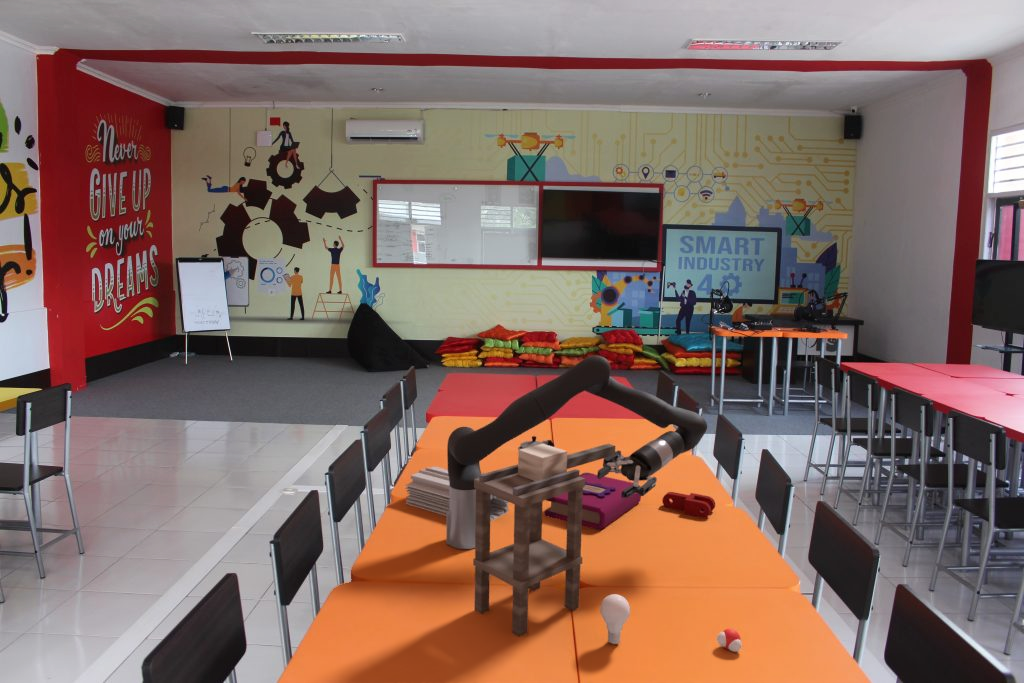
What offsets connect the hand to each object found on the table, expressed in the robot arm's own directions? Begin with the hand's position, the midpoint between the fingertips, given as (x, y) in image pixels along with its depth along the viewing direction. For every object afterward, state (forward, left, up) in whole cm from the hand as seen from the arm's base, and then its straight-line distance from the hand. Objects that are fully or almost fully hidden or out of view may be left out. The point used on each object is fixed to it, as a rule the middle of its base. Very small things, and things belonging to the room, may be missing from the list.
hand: (610, 485), depth 193 cm
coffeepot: (-36, +58, -24) cm, 72 cm away
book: (-12, +43, -25) cm, 51 cm away
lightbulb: (+7, -33, -24) cm, 41 cm away
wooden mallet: (-7, -12, +8) cm, 16 cm away
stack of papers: (-54, +30, -24) cm, 66 cm away
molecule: (+31, -27, -24) cm, 48 cm away
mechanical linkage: (+17, +53, -24) cm, 60 cm away
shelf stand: (-15, -25, -24) cm, 37 cm away
